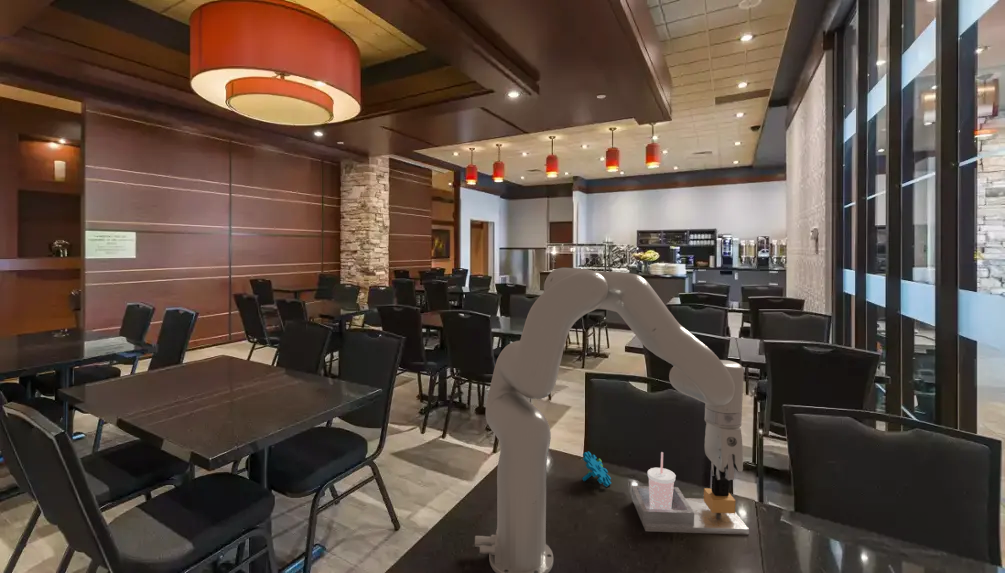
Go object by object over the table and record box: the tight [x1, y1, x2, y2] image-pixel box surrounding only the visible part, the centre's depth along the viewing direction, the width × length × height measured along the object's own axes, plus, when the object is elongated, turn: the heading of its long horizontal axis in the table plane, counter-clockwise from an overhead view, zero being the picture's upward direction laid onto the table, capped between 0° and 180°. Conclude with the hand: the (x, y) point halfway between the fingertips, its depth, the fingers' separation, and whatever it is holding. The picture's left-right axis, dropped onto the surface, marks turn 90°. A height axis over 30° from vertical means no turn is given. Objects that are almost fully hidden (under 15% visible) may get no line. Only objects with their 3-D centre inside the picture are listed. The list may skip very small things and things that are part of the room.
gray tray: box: [630, 485, 750, 535], centre depth 107 cm, size 22×12×4 cm, turn 87°
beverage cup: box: [646, 451, 677, 510], centre depth 106 cm, size 6×6×14 cm
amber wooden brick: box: [703, 487, 736, 513], centre depth 106 cm, size 5×5×3 cm
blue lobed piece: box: [581, 451, 612, 488], centre depth 123 cm, size 11×6×10 cm
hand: (720, 494), depth 106 cm, fingers closed
